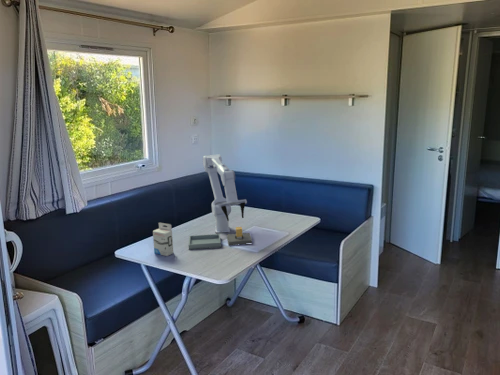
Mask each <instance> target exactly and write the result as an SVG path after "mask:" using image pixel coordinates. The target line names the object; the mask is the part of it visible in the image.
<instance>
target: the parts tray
mask: <svg viewBox="0 0 500 375" xmlns="http://www.w3.org/2000/svg"><path fill="white" fill-rule="evenodd" d="M221 247H222V242H221V233H215V234H214V233H212V234H211V233H210V234H199V235H197V234H195V235H189V236H188V250H200V249H201V250H202V249H203V250H204V249H205V250H206V249H217V248H221Z"/></svg>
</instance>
